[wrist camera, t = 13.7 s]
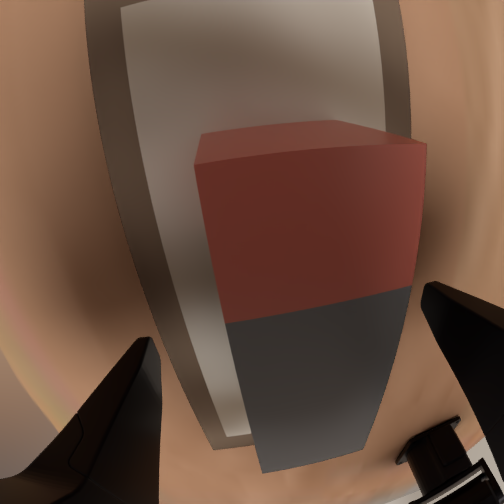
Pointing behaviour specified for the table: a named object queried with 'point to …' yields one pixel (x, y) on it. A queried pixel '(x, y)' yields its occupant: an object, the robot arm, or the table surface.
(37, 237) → the table surface
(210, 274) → the board
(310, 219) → the red and gray block
